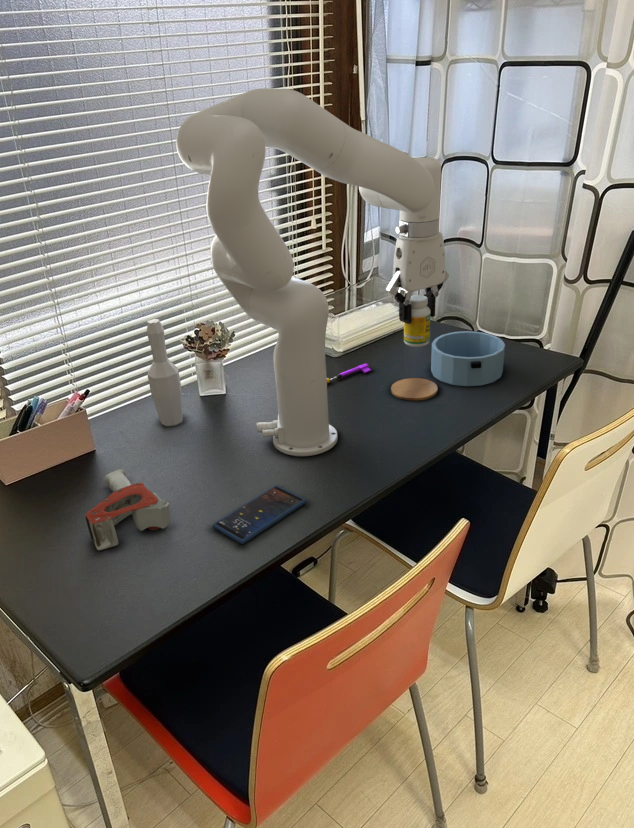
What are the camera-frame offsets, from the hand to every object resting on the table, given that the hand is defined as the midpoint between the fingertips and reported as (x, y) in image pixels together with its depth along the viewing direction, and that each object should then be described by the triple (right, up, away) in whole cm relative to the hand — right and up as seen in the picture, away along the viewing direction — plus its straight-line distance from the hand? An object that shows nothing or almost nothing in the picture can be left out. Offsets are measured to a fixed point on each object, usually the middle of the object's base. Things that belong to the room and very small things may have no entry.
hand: (417, 317), depth 145 cm
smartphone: (-31, -39, -27) cm, 57 cm away
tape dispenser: (-53, -39, -25) cm, 70 cm away
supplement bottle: (0, -5, +3) cm, 6 cm away
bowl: (+14, -9, +15) cm, 22 cm away
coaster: (+1, -14, +8) cm, 16 cm away
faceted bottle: (-51, -21, +4) cm, 55 cm away
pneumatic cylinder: (-14, -11, +16) cm, 24 cm away
